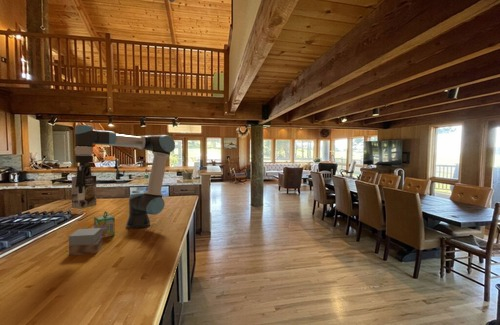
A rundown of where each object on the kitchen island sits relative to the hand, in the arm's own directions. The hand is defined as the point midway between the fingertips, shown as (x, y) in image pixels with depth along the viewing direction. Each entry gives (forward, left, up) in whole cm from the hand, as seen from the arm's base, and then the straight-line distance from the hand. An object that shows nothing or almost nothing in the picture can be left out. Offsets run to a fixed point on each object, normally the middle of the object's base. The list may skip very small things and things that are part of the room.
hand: (84, 197), depth 124 cm
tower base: (-1, 0, -28) cm, 28 cm away
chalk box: (-5, -20, -28) cm, 35 cm away
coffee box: (0, 0, -5) cm, 5 cm away
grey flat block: (-1, +1, -23) cm, 23 cm away
